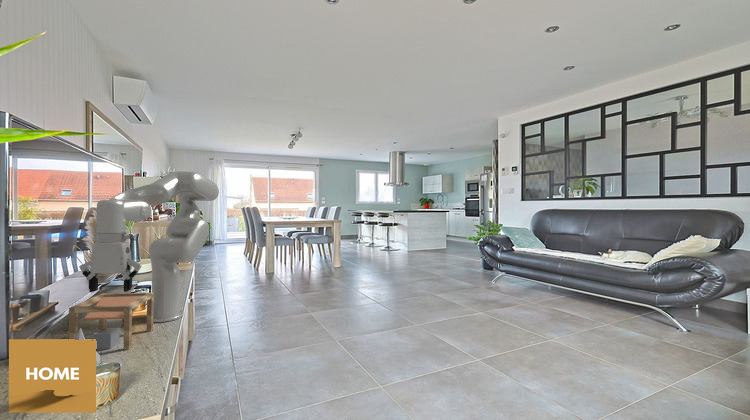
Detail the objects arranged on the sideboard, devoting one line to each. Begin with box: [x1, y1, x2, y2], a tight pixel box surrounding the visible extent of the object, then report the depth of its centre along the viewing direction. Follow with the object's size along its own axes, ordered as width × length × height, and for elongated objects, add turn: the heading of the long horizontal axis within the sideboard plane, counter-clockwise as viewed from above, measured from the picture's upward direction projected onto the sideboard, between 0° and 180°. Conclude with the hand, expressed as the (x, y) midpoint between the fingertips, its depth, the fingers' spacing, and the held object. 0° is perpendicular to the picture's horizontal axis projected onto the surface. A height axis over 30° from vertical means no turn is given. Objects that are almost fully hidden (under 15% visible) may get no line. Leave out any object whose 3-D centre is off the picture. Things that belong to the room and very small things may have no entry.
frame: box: [68, 292, 154, 351], centre depth 113 cm, size 16×16×14 cm
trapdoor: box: [83, 296, 142, 321], centre depth 114 cm, size 12×13×1 cm
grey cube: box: [92, 327, 121, 351], centre depth 109 cm, size 5×5×5 cm
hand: (110, 291), depth 111 cm, fingers open, 9 cm apart
